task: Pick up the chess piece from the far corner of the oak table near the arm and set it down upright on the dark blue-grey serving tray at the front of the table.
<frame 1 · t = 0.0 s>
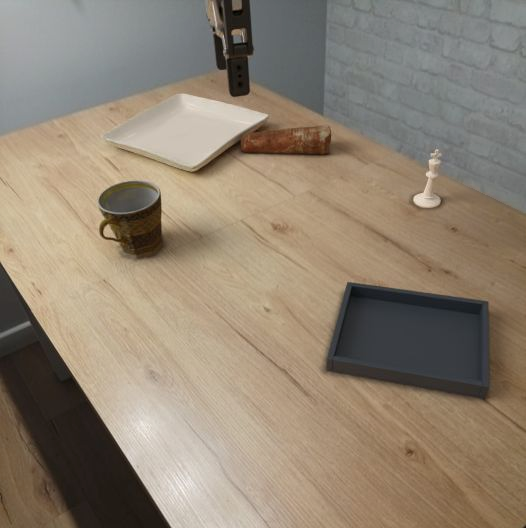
hand: (232, 81, 58), 30 cm above the table, tool pointing down, fingers open, 8 cm apart
tray: (407, 343, 70), on the table
square plate: (188, 141, 116), on the table
ceramic cup: (138, 254, 88), on the table
rusty brown tapered cylinder: (285, 154, 109), on the table
chess piece: (426, 204, 94), on the table
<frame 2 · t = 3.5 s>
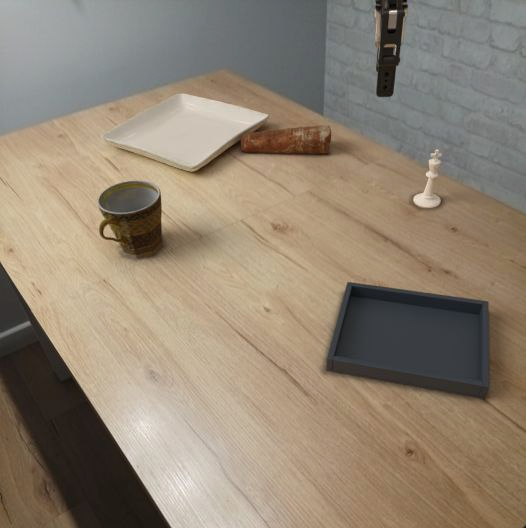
hand: (384, 83, 71), 24 cm above the table, tool pointing down, fingers open, 8 cm apart
nothing on the table moved.
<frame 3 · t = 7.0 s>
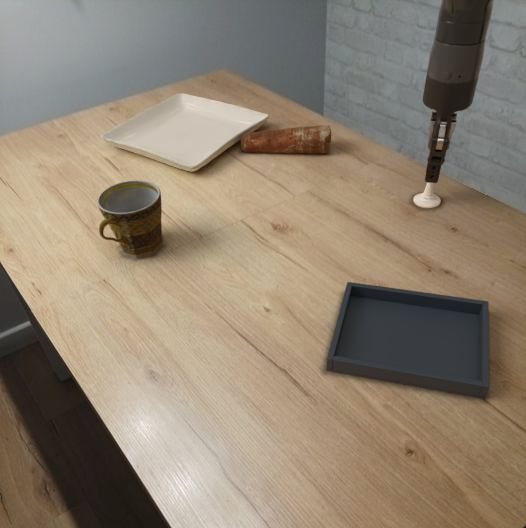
hand: (431, 177, 90), 5 cm above the table, tool pointing down, fingers closed on chess piece
chess piece: (426, 204, 94), on the table, touching gripper
everything else where it was.
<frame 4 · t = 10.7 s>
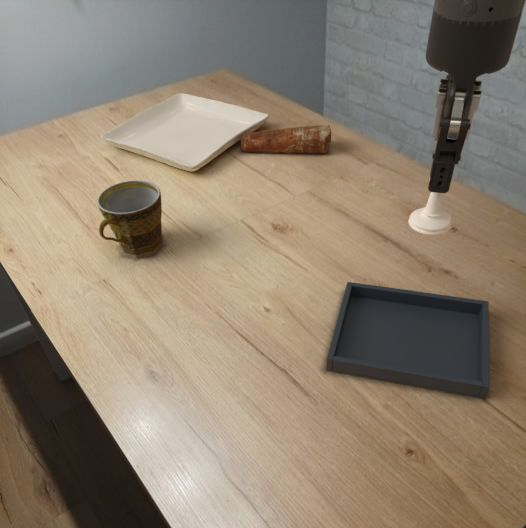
hand: (438, 184, 58), 21 cm above the table, tool pointing down, fingers closed on chess piece
chess piece: (429, 224, 62), point 16 cm above the table, touching gripper
everything else where it was.
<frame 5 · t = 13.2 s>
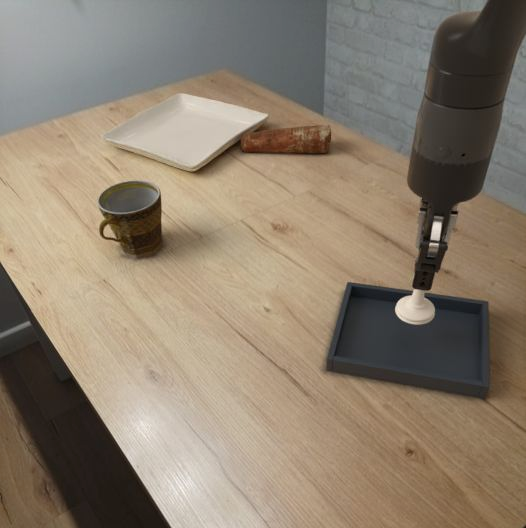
hand: (422, 280, 62), 11 cm above the table, tool pointing down, fingers closed on chess piece
chess piece: (414, 312, 66), point 6 cm above the table, touching gripper
everything else where it was.
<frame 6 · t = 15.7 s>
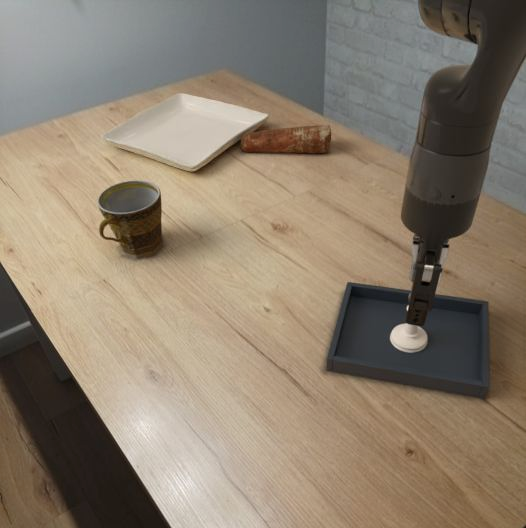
hand: (417, 300, 65), 8 cm above the table, tool pointing down, fingers open, 8 cm apart
chess piece: (408, 340, 70), point 1 cm above the table, touching tray
everything else where it was.
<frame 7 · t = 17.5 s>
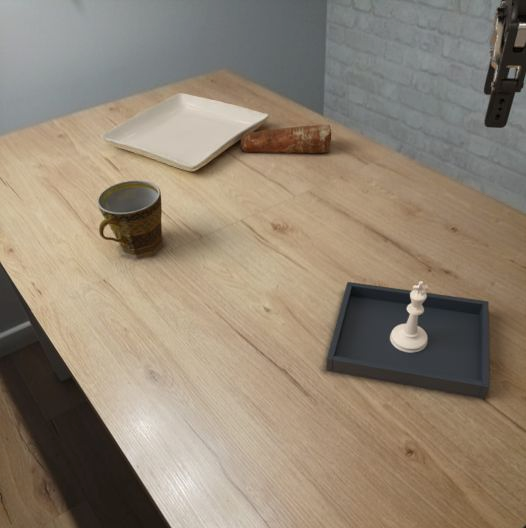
hand: (493, 109, 58), 27 cm above the table, tool pointing down, fingers open, 8 cm apart
square plate: (188, 141, 116), on the table, touching rusty brown tapered cylinder
rusty brown tapered cylinder: (285, 153, 110), on the table, touching square plate
everything else where it was.
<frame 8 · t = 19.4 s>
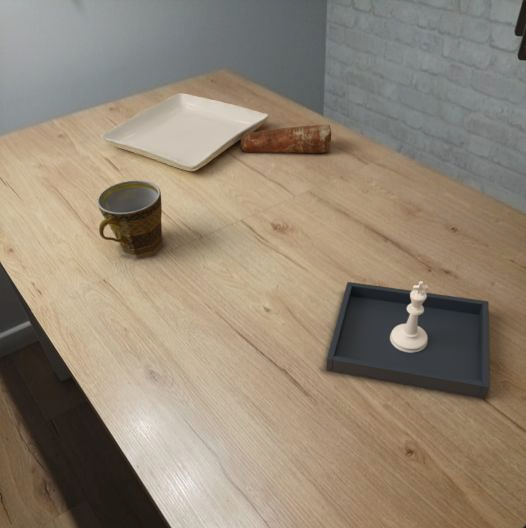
hand: (524, 46, 61), 30 cm above the table, tool pointing down, fingers open, 8 cm apart
nothing on the table moved.
at the end: chess piece inside the target area in the tray (0.1 cm from its centre), point 0.6 cm above the tray's base; chess piece tilted 0° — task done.
